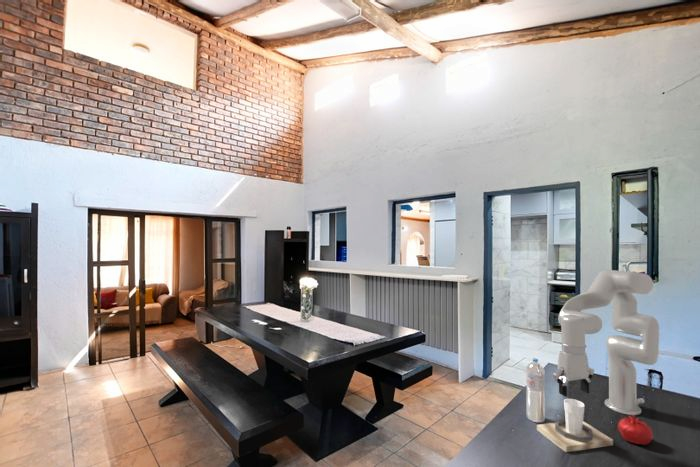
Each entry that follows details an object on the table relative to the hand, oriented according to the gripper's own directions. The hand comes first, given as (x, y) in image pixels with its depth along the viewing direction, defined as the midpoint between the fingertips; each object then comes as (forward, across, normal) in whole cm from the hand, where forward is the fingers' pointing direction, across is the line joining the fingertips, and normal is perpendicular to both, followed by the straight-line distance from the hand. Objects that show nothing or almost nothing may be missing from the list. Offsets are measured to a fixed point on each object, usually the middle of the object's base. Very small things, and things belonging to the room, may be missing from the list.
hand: (574, 393), depth 130 cm
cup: (+15, +1, 0) cm, 15 cm away
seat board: (+16, +1, 0) cm, 17 cm away
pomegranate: (+17, -20, +6) cm, 27 cm away
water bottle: (+17, +6, -14) cm, 22 cm away
